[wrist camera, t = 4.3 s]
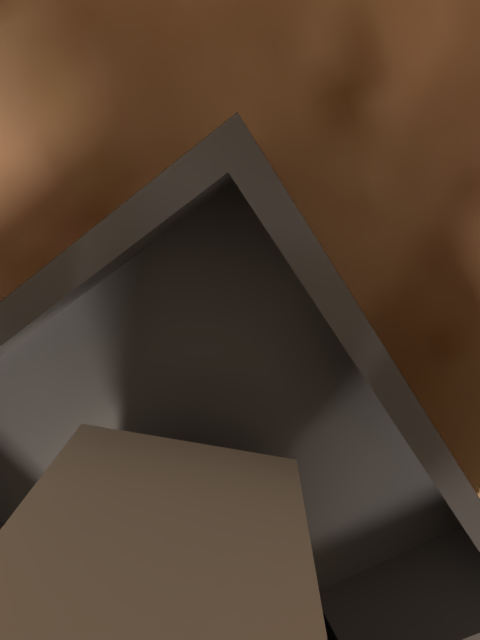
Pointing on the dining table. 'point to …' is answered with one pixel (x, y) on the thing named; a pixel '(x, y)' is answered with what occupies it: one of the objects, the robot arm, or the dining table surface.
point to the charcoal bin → (246, 382)
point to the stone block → (159, 545)
